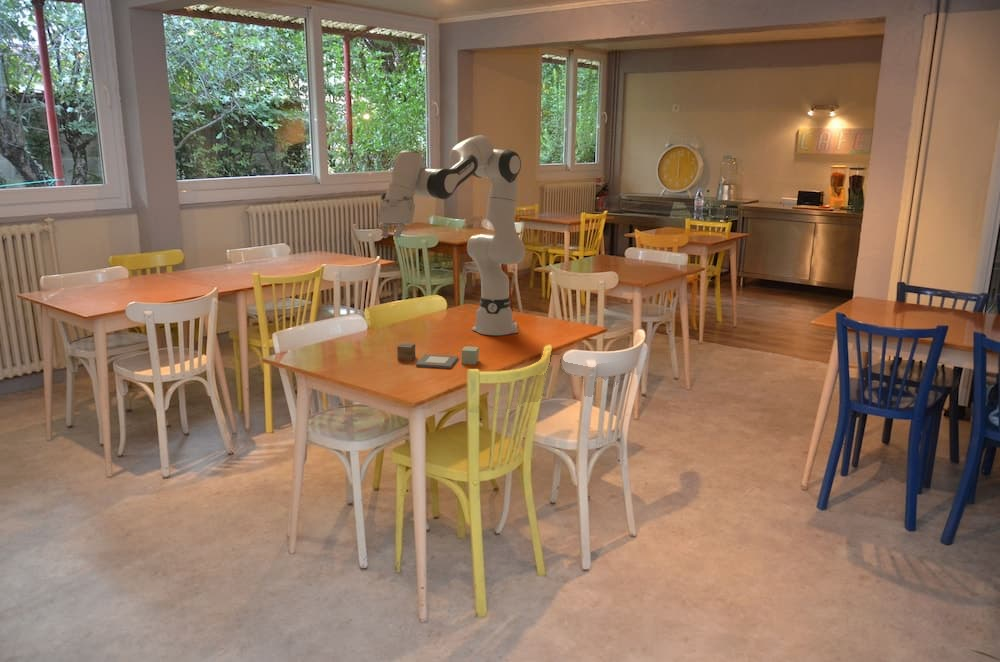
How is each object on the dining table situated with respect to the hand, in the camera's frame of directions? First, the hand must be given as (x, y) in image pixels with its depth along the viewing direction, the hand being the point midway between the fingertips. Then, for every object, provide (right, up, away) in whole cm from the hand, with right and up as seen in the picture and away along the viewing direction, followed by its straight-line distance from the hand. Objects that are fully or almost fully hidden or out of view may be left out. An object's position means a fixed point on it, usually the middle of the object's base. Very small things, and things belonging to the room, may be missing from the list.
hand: (390, 237), depth 261 cm
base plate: (+15, -42, +11) cm, 46 cm away
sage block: (+26, -42, +12) cm, 51 cm away
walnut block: (+4, -41, +16) cm, 44 cm away
